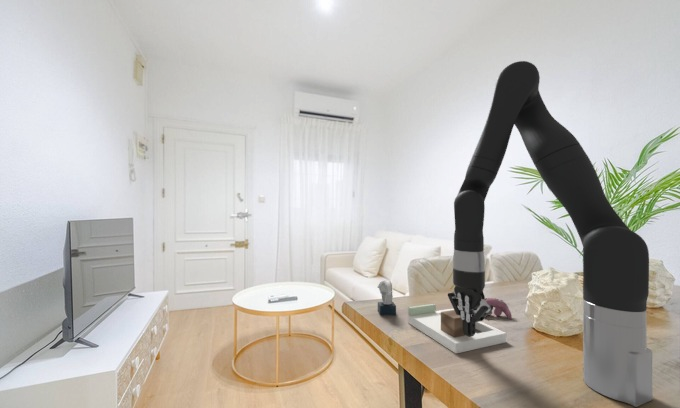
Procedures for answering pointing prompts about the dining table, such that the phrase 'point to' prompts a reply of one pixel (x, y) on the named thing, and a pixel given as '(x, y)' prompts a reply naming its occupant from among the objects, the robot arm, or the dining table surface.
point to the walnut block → (452, 323)
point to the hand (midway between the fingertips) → (468, 335)
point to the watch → (386, 299)
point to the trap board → (430, 324)
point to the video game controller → (498, 307)
